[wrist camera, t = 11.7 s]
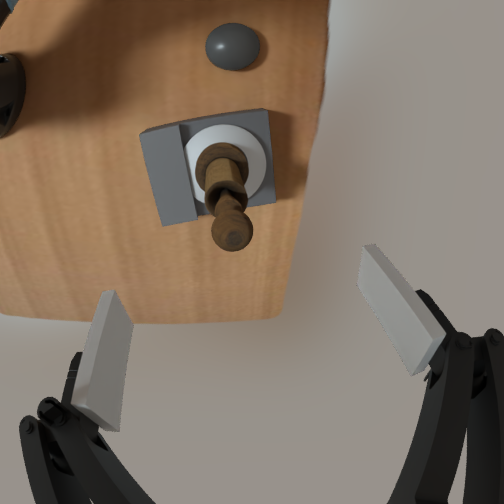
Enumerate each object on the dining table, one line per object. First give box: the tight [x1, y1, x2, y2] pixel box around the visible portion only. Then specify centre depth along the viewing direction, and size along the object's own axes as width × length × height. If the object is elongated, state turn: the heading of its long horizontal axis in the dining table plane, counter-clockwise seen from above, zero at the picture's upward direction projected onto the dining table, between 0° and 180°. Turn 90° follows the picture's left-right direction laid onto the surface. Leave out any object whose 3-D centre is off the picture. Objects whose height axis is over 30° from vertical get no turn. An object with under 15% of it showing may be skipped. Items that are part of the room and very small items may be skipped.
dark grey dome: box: [205, 23, 260, 70], centre depth 29 cm, size 7×7×1 cm
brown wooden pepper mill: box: [195, 142, 253, 252], centre depth 27 cm, size 7×6×18 cm
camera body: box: [139, 108, 276, 226], centre depth 36 cm, size 16×13×5 cm
